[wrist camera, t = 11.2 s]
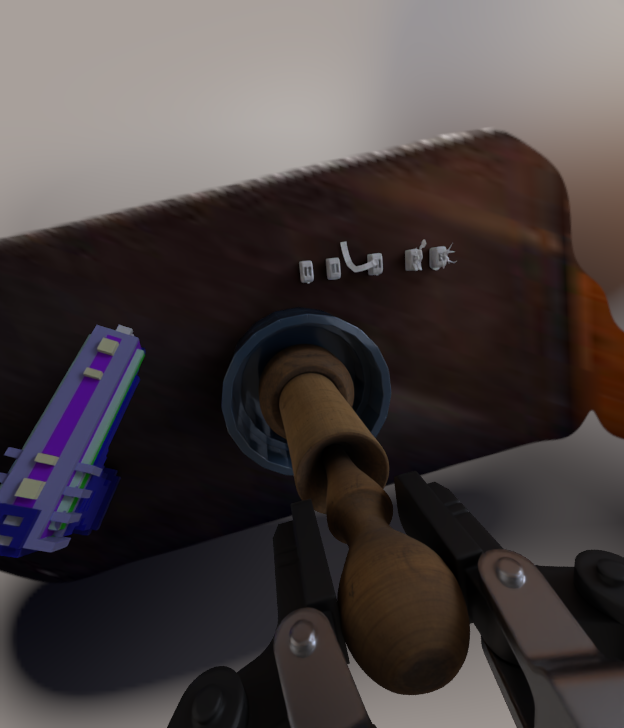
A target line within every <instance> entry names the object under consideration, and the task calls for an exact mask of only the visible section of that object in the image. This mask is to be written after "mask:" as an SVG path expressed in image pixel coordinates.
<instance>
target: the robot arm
mask: <svg viewBox="0 0 624 728" xmlns="http://www.w3.org/2000/svg"><path fill="white" fill-rule="evenodd" d="M394 483H395V491H396V499H397V507H398V513H399V517H400V521H401V524H402V526H403V529H404V530H405V532H406V534H407V535H408V536H409V537H411V538H414V539H416V540H418V541H419V542H421V543H423V544H425V545H426V546H428V547H429V548H431V549H432V550H433V551H434V552H436V553H437V554H438V555H439V556H440V557H441V558H442V559H443V561H444V562H445V563H446V564H447V565H448V567H449V568H450V570H451V571H452V573H453V574H454V576H455V578H456V580H457V581H458V584H459V586H460V588H461V591H462V593H463V596H464V599H465V602H466V606H467V610H468V616H469V623H474V625H475V626H476V628H477V629H478V631H479V632H480V634H481V644H482V649H483V651H484V654H485V656H486V658H487V660H488V663H489V665H490V668H491V670H492V672H493V674H494V677H495V679H496V681H497V684H498V686H499V688H500V690H501V693H502V695H503V697H504V699H505V702H506V704H507V706H508V708H509V711H510V713H511V715H512V718H513V720H514V722H515V724H516V726H517V728H624V557H621V556H619V555H616V554H614V553H610V552H607V551H602V550H586V551H583V552H581V553H579V554H578V555H577V556H576V559H575V567H554V566H538V565H534V564H533V563H532V562H531V561H530V560H529V559H527V558H526V557H524V556H522V555H521V554H518V553H516V552H514V551H510V550H506V549H503V548H502V547H501V546H500V544H499V543H498V542H497V541H496V540H495V539H494V538H493V537H492V536H491V535H490V534H489V533H488V531H487V530H485V528H484V527H483V526H482V525H481V524H480V523H479V522H478V521H477V519H476V518H475V517H474V516H473V515H472V514H471V513H470V512H468V511H467V509H466V508H465V507H464V505H463V504H462V503H460V502H459V500H458V499H457V498H456V497H455V496H454V494H452V492H451V491H450V490H449V489H447V488H445V487H443V486H442V485H440V484H438V483H436V482H432V483H429V484H427V483H426V482H425V481H424V480H423V478H422V477H421V476H420V475H419V474H418V473H417V472H416V471H413V472H409V473H405V474H401V475H398V476H395V477H394ZM291 510H292V517H293V521H289V522H286V523H282V524H278V527H277V529H276V532H275V534H274V537H273V547H274V560H275V576H276V591H277V604H278V605H277V606H278V625H277V629H276V632H275V635H274V637H273V639H272V641H271V642H270V644H269V645H268V647H267V648H266V649H265V650H264V652H263V653H262V654H261V655H260V656H258V657H257V658H256V659H255V660H253V661H252V662H250V663H249V664H248V665H246V666H245V667H244V668H242V669H241V670H240V671H238V672H237V673H236V672H235V671H234V670H233V669H231V668H229V667H225V666H219V667H214V668H211V669H209V670H207V671H205V672H204V673H202V674H201V675H199V676H198V677H197V678H196V679H195V680H194V681H193V682H192V683H191V684H190V685H189V687H188V688H187V690H186V691H185V693H184V694H183V696H182V698H181V700H180V702H179V704H178V706H177V708H176V710H175V712H174V714H173V716H172V718H171V720H170V722H169V725H168V727H167V728H377V727H376V726H375V725H374V724H372V722H371V720H370V718H369V716H368V714H367V711H366V709H365V707H364V704H363V702H362V700H361V697H360V694H359V692H358V690H357V687H356V685H355V682H354V680H353V677H352V675H351V673H350V670H349V668H348V665H347V664H349V663H350V662H349V657H348V652H347V648H346V643H345V640H344V637H343V634H342V630H341V619H340V614H339V609H338V604H337V599H336V595H335V591H334V587H333V583H332V579H331V576H330V571H329V567H328V563H327V559H326V556H325V551H324V547H323V544H322V540H321V536H320V532H319V528H318V524H317V520H316V516H315V512H314V508H313V504H312V500H311V499H307V500H304V501H300V502H296V503H293V504H291Z"/></svg>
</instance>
